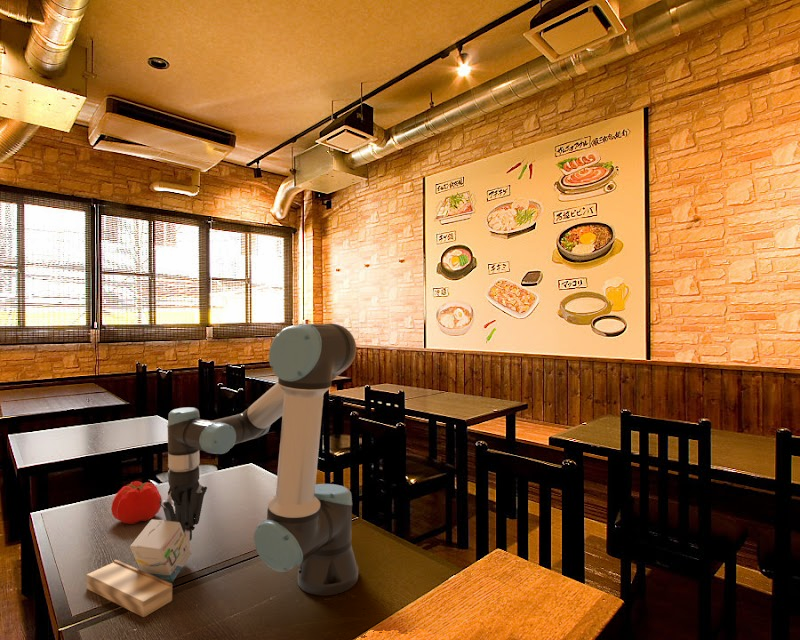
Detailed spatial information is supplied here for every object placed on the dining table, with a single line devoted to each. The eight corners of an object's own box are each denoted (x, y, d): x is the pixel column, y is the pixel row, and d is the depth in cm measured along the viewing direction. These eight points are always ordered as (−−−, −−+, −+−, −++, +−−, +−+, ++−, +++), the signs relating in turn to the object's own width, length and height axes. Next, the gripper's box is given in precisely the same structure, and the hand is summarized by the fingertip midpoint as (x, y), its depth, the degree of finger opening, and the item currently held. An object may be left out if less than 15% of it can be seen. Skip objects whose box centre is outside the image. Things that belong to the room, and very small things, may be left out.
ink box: (172, 583, 117) (159, 550, 112) (142, 579, 118) (128, 546, 113) (192, 553, 124) (180, 521, 119) (164, 549, 126) (151, 518, 121)
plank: (172, 600, 110) (172, 583, 110) (143, 617, 103) (143, 599, 103) (116, 574, 120) (116, 559, 120) (87, 588, 114) (86, 572, 114)
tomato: (164, 522, 150) (164, 485, 150) (112, 533, 142) (112, 494, 142) (158, 507, 161) (158, 473, 161) (110, 517, 153) (109, 481, 153)
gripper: (195, 457, 132) (195, 540, 133) (152, 471, 121) (153, 561, 122) (213, 462, 129) (214, 547, 130) (170, 477, 117) (171, 570, 118)
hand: (184, 554), depth 126 cm, fingers closed
